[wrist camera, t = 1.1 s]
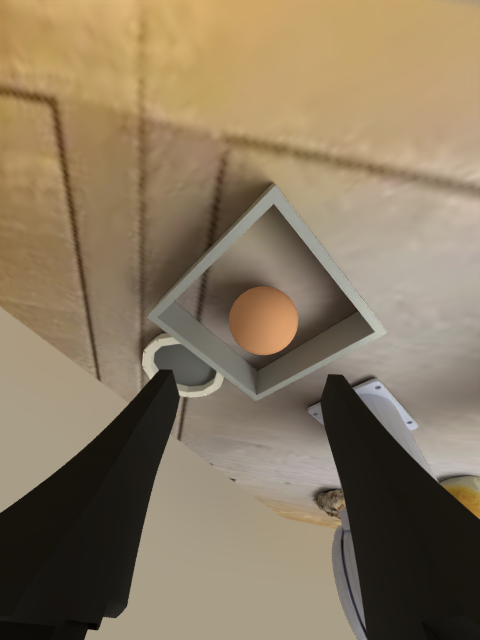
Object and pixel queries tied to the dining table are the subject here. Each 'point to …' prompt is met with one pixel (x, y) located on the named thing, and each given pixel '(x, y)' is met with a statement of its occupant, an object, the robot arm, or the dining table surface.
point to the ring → (181, 366)
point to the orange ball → (263, 320)
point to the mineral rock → (331, 502)
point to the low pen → (297, 361)
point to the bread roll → (465, 491)
